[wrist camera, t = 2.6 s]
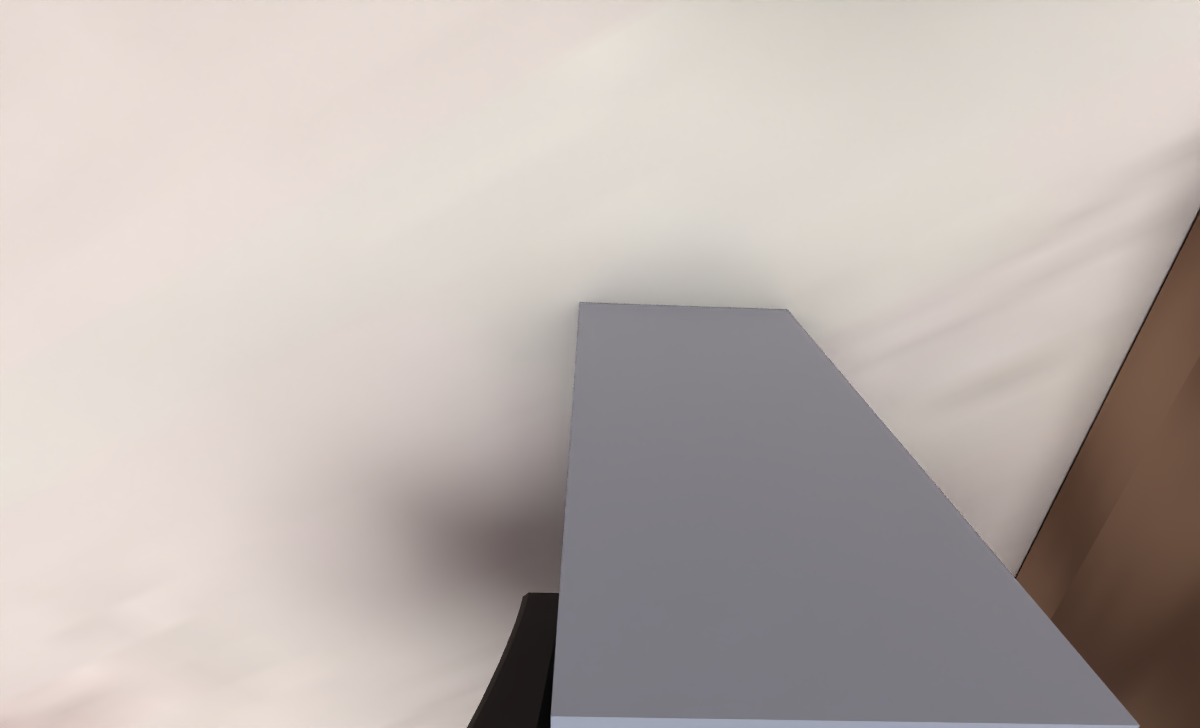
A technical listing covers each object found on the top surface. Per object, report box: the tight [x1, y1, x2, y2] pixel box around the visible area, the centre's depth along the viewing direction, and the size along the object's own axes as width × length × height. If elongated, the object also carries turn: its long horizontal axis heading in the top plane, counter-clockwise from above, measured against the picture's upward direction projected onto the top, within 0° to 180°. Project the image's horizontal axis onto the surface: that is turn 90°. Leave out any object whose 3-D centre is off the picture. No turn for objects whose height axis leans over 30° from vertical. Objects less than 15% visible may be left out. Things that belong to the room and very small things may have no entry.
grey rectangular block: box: [551, 302, 1140, 728], centre depth 10 cm, size 4×12×8 cm, turn 178°
